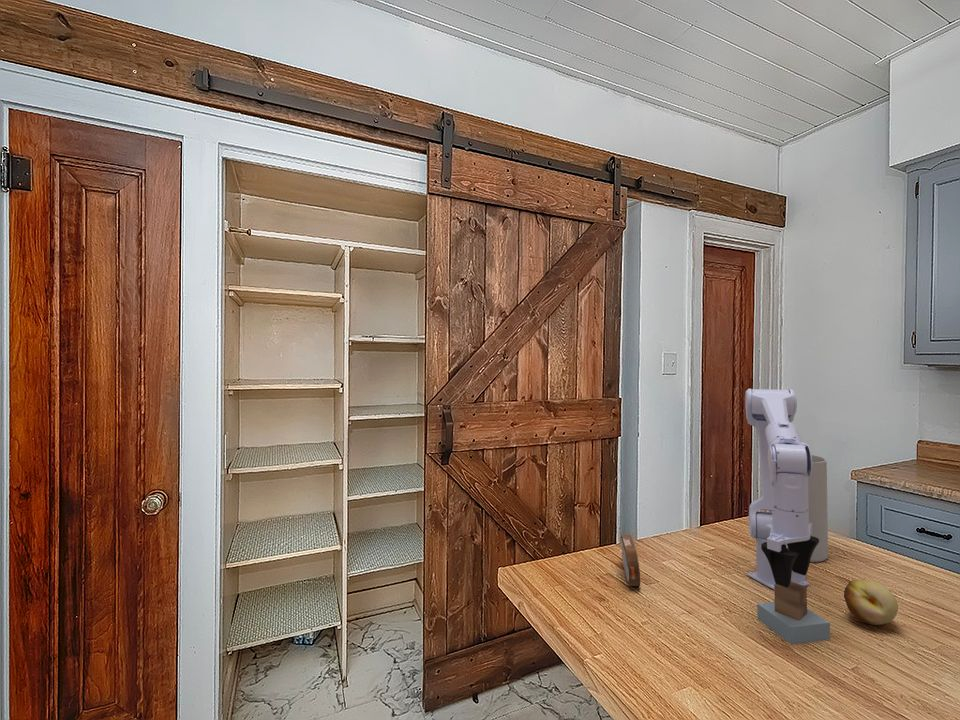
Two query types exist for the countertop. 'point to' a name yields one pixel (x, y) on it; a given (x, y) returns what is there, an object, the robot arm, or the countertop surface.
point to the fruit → (870, 602)
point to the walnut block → (791, 600)
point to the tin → (630, 561)
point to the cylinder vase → (818, 507)
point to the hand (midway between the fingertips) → (791, 579)
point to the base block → (794, 625)
